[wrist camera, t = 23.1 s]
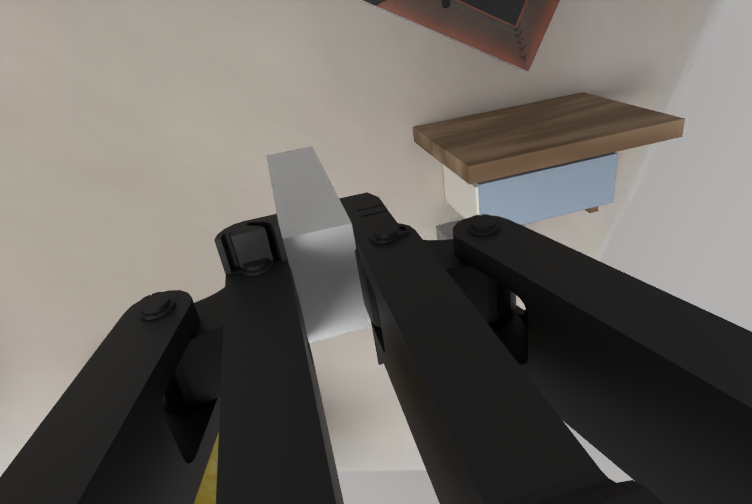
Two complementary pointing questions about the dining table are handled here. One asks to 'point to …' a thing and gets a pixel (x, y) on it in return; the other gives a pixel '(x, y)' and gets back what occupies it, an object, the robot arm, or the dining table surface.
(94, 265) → the dining table surface
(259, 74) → the dining table surface
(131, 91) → the dining table surface
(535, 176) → the boxed book
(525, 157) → the shelf
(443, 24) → the picture frame
